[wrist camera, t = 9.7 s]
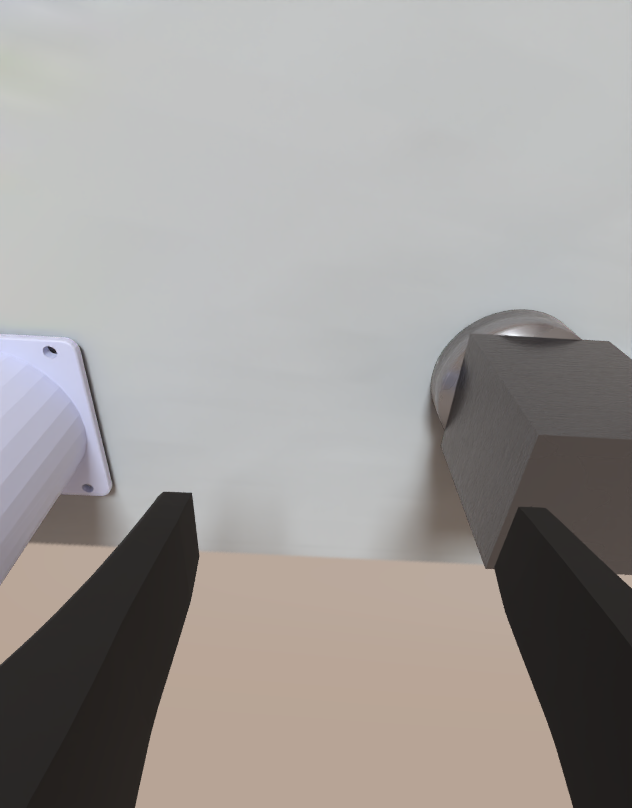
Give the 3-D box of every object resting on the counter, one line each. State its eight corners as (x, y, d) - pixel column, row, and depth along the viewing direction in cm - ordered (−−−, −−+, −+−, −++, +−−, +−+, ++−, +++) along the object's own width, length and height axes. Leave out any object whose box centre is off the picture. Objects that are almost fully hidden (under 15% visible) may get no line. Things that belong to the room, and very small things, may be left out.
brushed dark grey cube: (440, 446, 19) (485, 568, 14) (470, 333, 16) (538, 434, 11) (560, 452, 19) (647, 575, 14) (609, 341, 17) (737, 445, 12)
